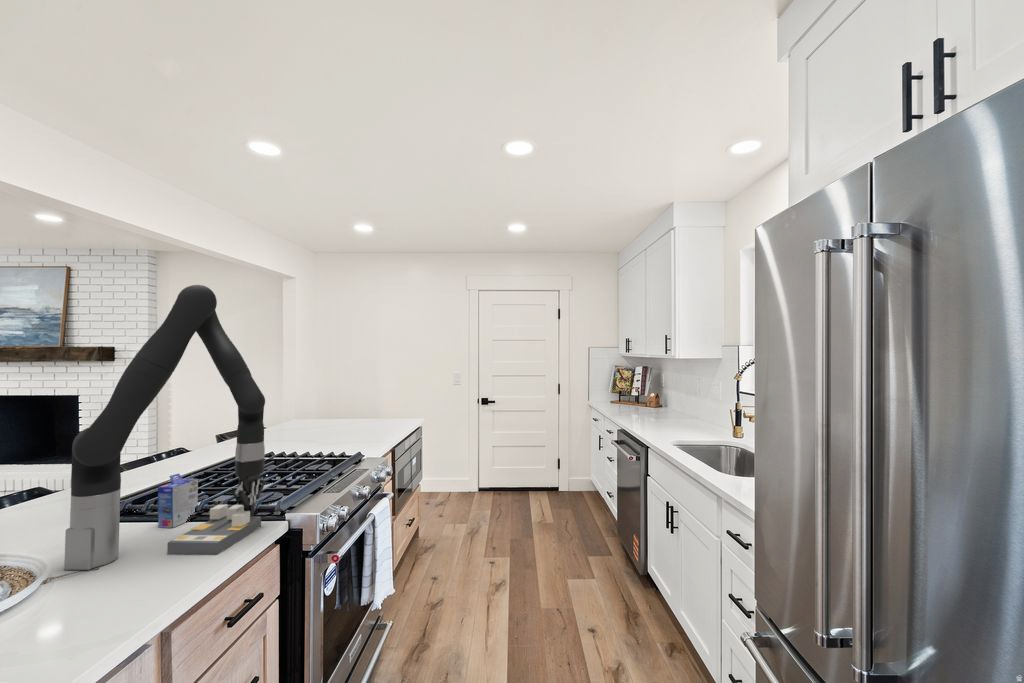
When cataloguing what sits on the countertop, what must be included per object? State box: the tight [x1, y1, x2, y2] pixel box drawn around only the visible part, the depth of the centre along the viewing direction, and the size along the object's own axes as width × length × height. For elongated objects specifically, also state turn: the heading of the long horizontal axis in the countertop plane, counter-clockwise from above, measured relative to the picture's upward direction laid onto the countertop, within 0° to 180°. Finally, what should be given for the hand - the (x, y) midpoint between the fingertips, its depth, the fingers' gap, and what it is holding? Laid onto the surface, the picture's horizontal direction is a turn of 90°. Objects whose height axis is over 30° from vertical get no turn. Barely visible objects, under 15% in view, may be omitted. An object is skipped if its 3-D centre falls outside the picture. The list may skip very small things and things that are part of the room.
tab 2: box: [232, 511, 250, 527], centre depth 132 cm, size 4×3×3 cm
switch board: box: [166, 515, 262, 556], centre depth 129 cm, size 20×14×3 cm
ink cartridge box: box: [157, 473, 199, 529], centre depth 143 cm, size 10×6×14 cm, turn 174°
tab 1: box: [209, 504, 229, 520], centre depth 138 cm, size 4×3×3 cm
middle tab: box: [227, 504, 244, 519], centre depth 137 cm, size 4×3×3 cm
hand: (248, 517), depth 136 cm, fingers closed
